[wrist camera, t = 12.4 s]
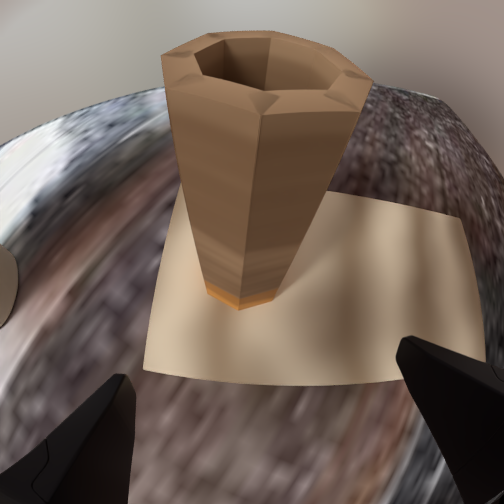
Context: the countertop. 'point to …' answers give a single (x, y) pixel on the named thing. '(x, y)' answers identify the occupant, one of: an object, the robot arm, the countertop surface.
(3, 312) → the travel mug
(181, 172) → the sleeve
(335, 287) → the pin board
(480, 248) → the countertop surface
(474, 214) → the countertop surface
